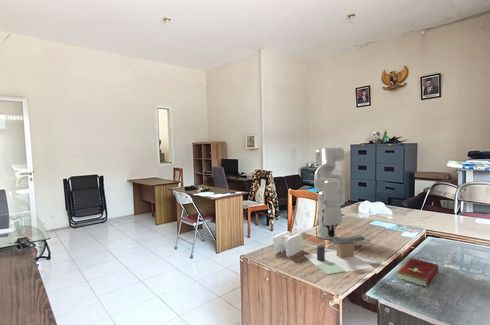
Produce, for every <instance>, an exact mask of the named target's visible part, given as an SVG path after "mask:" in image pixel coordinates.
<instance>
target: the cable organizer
mask: <svg viewBox="0 0 490 325" xmlns="http://www.w3.org/2000/svg"><path fill="white" fill-rule="evenodd" d="M272 241H273V244H272V245H273V254H275V255H276V254H280V253H281V254H283V252H285V256H286V257H287V258H290V257H292V256H294V255H296V254H298V253H300V252H302V251H303V250H304V249H303V234H302V233H297V234H294V235H292V231H289V230H285V231H283V232H280V233H277V234H276V235H274V237H273V240H272Z"/></svg>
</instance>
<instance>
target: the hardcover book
mask: <svg viewBox="0 0 490 325" xmlns="http://www.w3.org/2000/svg"><path fill="white" fill-rule="evenodd" d="M396 273H397V279H398V278H401V279H404V280H403V281H405V280H408V281H412V282H415V283H419V284H422V285H425V286H426V287H429V285H430V284H431V282H432V281H433V279H434V278H435V277H434V276H436V275H437V274H438V273H439V265H438V264H437V263H434V262H429V261H425V260H422V259H417V258H413V257H410V258H409V259H407V261H406V262H405V263H404V264H403V265H402V266H401V267H400V268H399V269H398V270H396ZM436 273H437V274H436ZM433 277H434V278H433ZM401 279H400V280H401ZM431 280H432V281H431ZM408 281H407V282H408ZM429 283H430V284H429ZM428 284H429V285H428ZM426 287H425V288H426Z"/></svg>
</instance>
